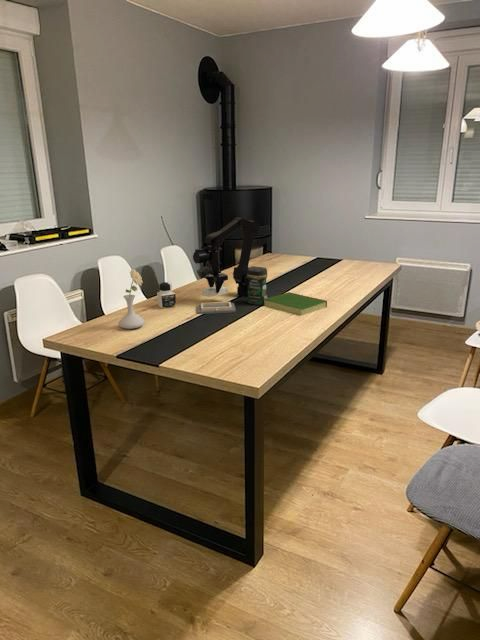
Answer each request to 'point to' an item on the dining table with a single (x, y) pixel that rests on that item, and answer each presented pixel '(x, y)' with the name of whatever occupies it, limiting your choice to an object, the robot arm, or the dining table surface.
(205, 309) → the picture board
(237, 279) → the robot arm
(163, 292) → the medicine bottle
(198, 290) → the dining table surface
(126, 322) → the flower in vase
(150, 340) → the dining table surface
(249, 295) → the coffee jar
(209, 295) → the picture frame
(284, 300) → the hardcover book
